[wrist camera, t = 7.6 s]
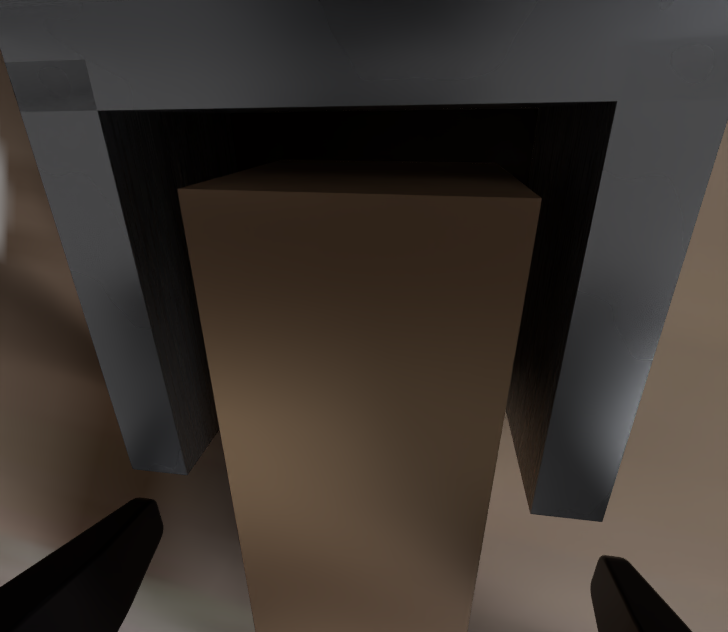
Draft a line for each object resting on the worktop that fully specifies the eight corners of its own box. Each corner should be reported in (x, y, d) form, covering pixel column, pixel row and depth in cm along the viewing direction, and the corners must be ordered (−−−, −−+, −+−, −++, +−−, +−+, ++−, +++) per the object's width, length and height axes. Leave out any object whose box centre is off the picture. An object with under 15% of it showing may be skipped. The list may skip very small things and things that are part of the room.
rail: (286, 158, 8) (177, 188, 5) (494, 161, 8) (541, 198, 4) (317, 600, 14) (278, 761, 11) (438, 620, 14) (438, 795, 10)
